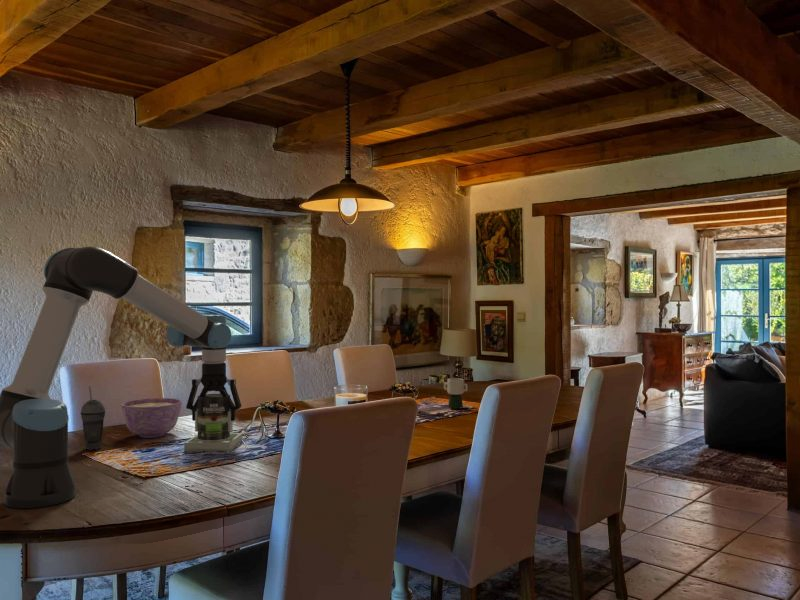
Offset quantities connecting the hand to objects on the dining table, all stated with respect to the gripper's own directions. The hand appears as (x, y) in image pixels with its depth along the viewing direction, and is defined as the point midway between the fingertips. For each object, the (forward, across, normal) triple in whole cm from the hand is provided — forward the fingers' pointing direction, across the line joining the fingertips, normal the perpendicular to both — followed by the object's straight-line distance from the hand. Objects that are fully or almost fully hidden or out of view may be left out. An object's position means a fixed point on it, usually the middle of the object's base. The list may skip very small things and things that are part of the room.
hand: (213, 430), depth 213 cm
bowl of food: (+5, +27, -17) cm, 32 cm away
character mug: (+5, -83, -73) cm, 110 cm away
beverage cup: (+5, +38, +3) cm, 38 cm away
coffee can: (+3, 0, 0) cm, 3 cm away
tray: (+5, 0, 0) cm, 5 cm away
